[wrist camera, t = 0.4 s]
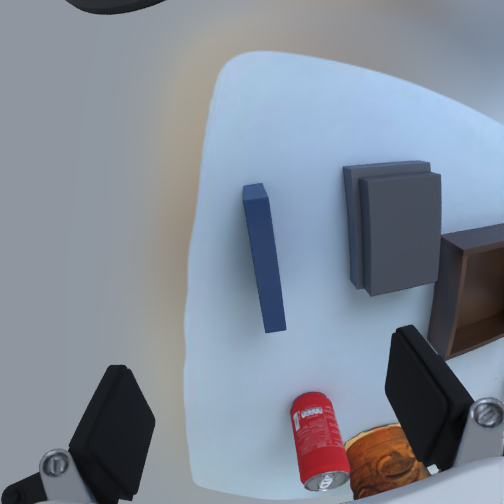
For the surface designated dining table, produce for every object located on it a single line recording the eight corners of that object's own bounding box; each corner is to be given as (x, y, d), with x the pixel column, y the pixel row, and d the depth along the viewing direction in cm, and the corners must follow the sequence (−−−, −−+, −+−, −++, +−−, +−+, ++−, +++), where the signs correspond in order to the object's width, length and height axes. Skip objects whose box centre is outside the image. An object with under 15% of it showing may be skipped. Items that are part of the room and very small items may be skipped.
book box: (438, 235, 28) (463, 250, 23) (530, 218, 27) (553, 228, 23) (426, 339, 32) (443, 361, 28) (515, 306, 32) (533, 321, 27)
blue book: (243, 185, 26) (243, 200, 19) (262, 182, 26) (268, 196, 19) (260, 291, 29) (265, 333, 23) (277, 288, 29) (286, 330, 23)
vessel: (423, 404, 37) (475, 505, 18) (411, 449, 42) (445, 533, 23) (334, 433, 38) (363, 552, 19) (336, 473, 42) (357, 565, 24)
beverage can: (333, 388, 34) (358, 467, 23) (325, 414, 36) (344, 488, 25) (292, 390, 34) (306, 474, 23) (287, 416, 36) (297, 494, 24)
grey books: (342, 166, 25) (359, 171, 22) (419, 160, 25) (442, 164, 21) (350, 280, 29) (364, 300, 25) (419, 267, 29) (439, 283, 25)
